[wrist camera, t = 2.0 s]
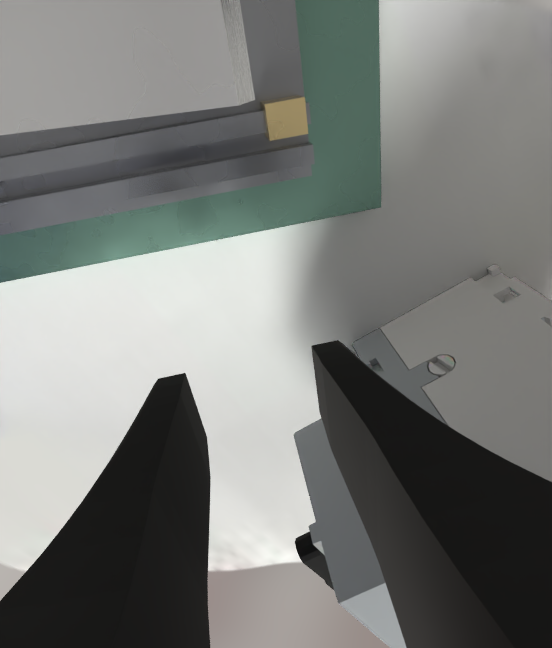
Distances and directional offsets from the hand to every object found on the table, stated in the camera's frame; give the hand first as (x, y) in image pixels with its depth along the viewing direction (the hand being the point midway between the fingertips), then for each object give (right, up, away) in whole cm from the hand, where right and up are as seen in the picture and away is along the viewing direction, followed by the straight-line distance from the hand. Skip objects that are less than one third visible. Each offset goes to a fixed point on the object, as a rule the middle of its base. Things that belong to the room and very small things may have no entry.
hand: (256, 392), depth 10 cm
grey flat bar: (-5, +7, 0) cm, 9 cm away
